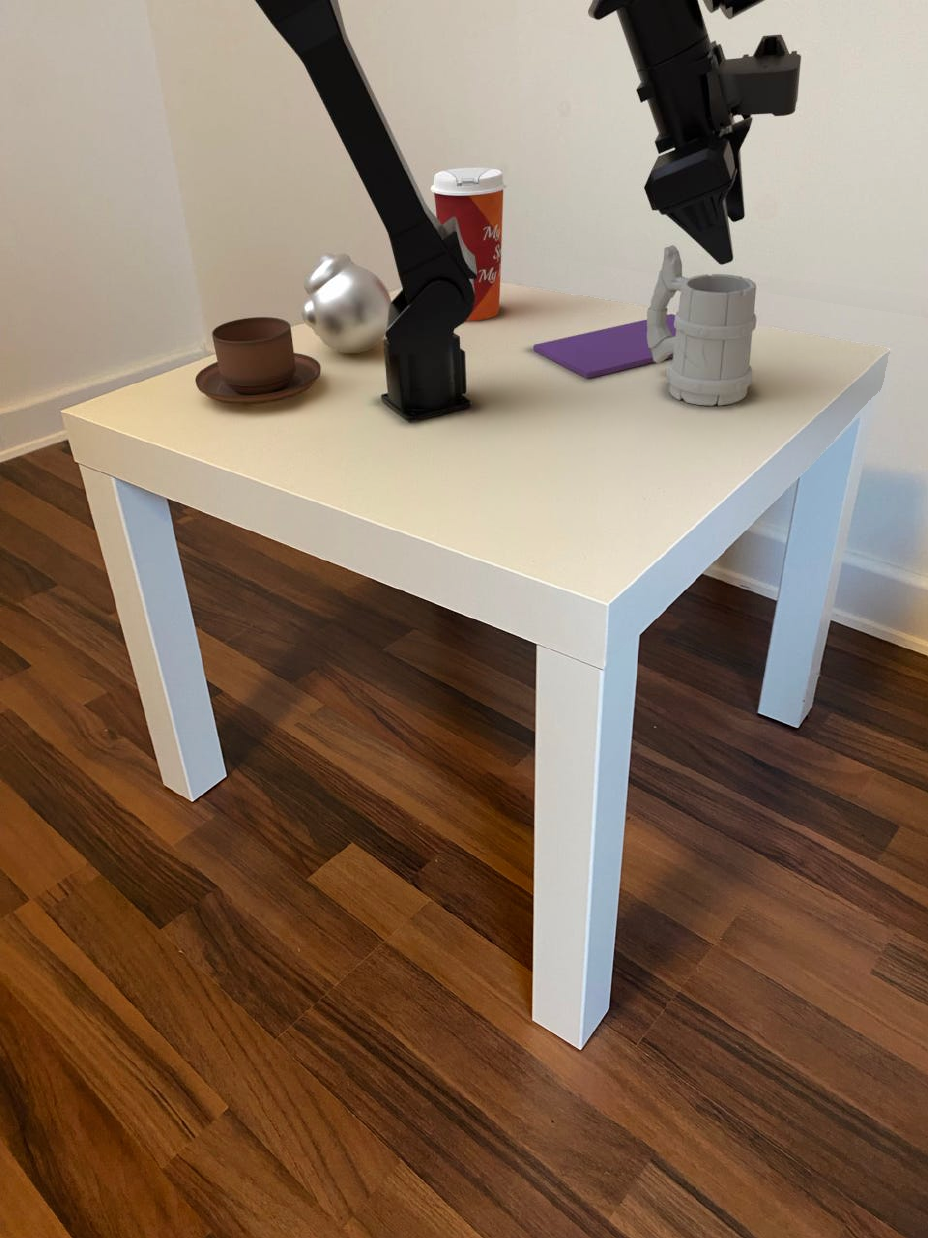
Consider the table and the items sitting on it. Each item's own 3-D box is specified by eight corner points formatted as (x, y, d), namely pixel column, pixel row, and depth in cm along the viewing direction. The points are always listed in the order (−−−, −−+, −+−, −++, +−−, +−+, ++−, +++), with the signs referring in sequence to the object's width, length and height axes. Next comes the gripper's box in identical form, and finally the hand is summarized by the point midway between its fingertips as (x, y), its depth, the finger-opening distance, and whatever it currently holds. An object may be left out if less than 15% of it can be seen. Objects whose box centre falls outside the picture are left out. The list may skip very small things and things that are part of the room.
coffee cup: (509, 322, 110) (507, 178, 101) (436, 325, 110) (428, 182, 102) (507, 300, 117) (505, 164, 108) (439, 303, 117) (431, 167, 109)
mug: (711, 414, 86) (726, 275, 79) (617, 379, 94) (623, 249, 87) (768, 392, 90) (787, 257, 83) (673, 360, 98) (683, 234, 91)
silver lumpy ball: (345, 331, 110) (335, 238, 104) (412, 345, 105) (405, 248, 99) (289, 356, 104) (275, 258, 98) (357, 371, 99) (346, 270, 93)
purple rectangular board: (587, 378, 95) (587, 372, 94) (533, 350, 102) (533, 344, 102) (732, 343, 101) (732, 337, 101) (671, 318, 109) (671, 313, 108)
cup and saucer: (178, 390, 96) (165, 328, 93) (285, 361, 102) (276, 302, 99) (233, 426, 88) (221, 360, 85) (346, 392, 94) (339, 328, 91)
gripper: (765, 33, 65) (826, 251, 73) (786, -26, 77) (835, 165, 85) (611, 104, 70) (682, 299, 78) (653, 39, 83) (711, 212, 91)
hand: (733, 240), depth 83 cm, fingers open, 9 cm apart
